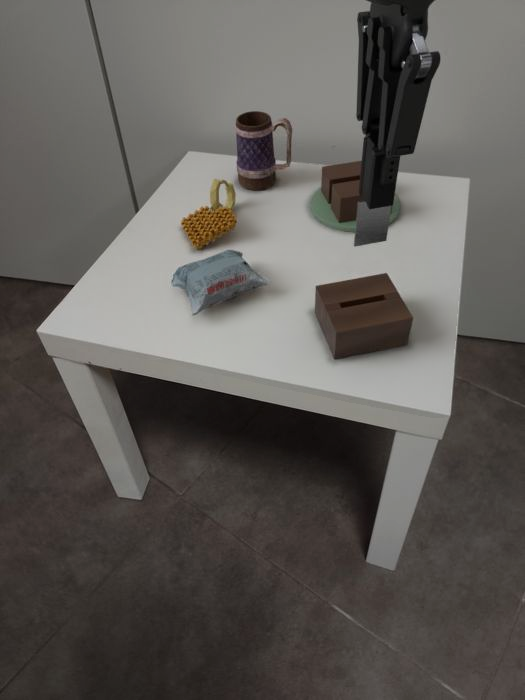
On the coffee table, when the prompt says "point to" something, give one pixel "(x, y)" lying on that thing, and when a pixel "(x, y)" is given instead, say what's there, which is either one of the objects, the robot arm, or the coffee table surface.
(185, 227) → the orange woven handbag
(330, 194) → the green disc stand
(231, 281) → the packaged food
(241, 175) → the mug
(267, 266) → the coffee table surface
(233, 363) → the coffee table surface
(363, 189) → the knife
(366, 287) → the knife block
